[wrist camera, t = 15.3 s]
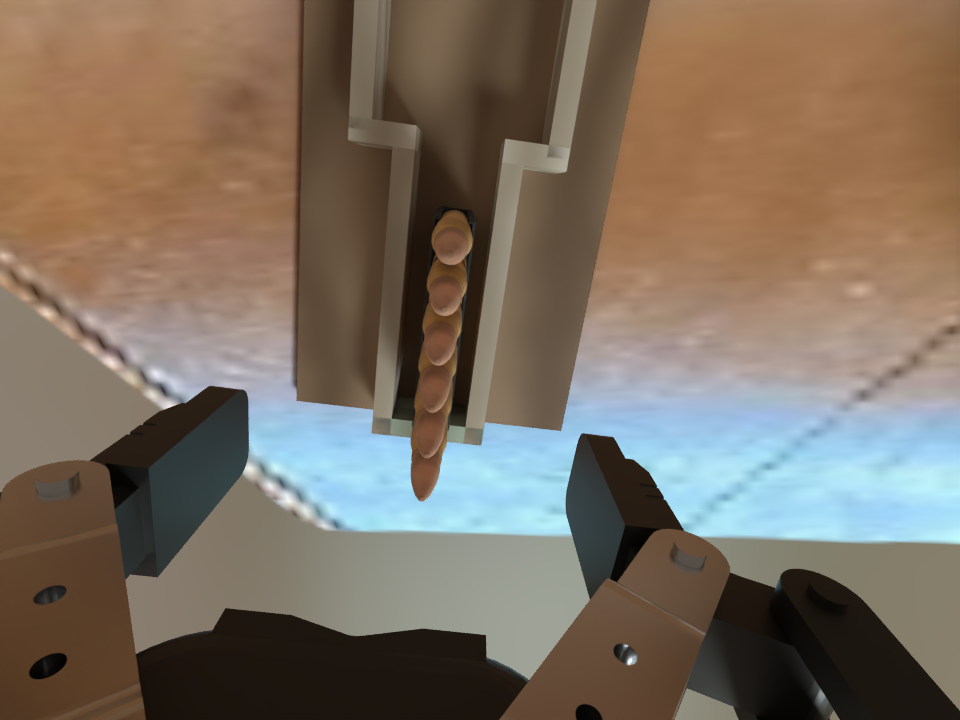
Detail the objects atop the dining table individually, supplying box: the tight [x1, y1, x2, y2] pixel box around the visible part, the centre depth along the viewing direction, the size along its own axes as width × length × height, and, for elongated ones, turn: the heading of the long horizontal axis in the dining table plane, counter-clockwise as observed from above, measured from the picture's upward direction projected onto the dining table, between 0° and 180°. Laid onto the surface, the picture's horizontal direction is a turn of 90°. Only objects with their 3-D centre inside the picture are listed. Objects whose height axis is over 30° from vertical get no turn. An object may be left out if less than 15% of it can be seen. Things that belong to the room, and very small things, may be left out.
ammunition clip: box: [411, 206, 476, 501], centre depth 22 cm, size 11×2×12 cm, turn 172°
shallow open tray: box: [297, 0, 650, 445], centre depth 24 cm, size 16×30×4 cm, turn 172°
